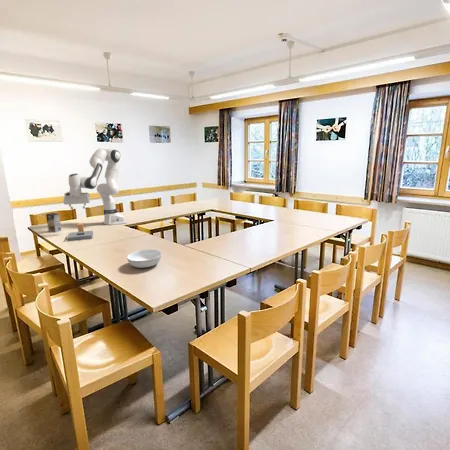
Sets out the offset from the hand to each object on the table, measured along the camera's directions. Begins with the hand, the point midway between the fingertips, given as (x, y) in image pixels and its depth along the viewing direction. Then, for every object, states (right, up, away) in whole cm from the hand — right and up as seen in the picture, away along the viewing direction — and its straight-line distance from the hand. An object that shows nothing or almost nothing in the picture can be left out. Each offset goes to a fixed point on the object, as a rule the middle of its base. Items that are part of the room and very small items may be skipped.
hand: (78, 208), depth 259 cm
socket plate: (+7, -24, -10) cm, 27 cm away
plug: (0, -21, +5) cm, 21 cm away
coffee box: (-26, -20, +11) cm, 35 cm away
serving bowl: (+77, -40, -71) cm, 112 cm away
